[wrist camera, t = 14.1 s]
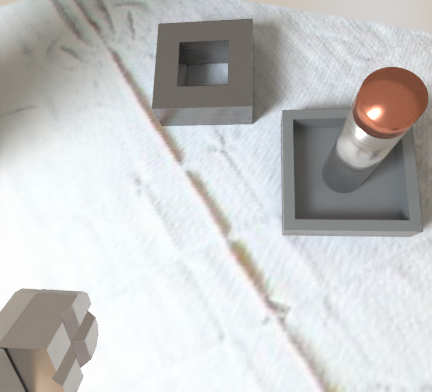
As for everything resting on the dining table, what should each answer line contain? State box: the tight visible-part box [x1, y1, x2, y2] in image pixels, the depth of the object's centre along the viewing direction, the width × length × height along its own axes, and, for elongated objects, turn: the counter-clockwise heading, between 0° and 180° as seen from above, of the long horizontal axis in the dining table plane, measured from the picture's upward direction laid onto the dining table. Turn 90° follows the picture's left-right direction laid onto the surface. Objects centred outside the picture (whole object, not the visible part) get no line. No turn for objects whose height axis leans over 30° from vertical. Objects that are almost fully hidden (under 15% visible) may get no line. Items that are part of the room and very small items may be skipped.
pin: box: [322, 67, 428, 193], centre depth 31 cm, size 4×4×15 cm
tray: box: [281, 108, 423, 237], centre depth 37 cm, size 12×12×3 cm
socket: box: [152, 19, 253, 126], centre depth 41 cm, size 10×10×4 cm
